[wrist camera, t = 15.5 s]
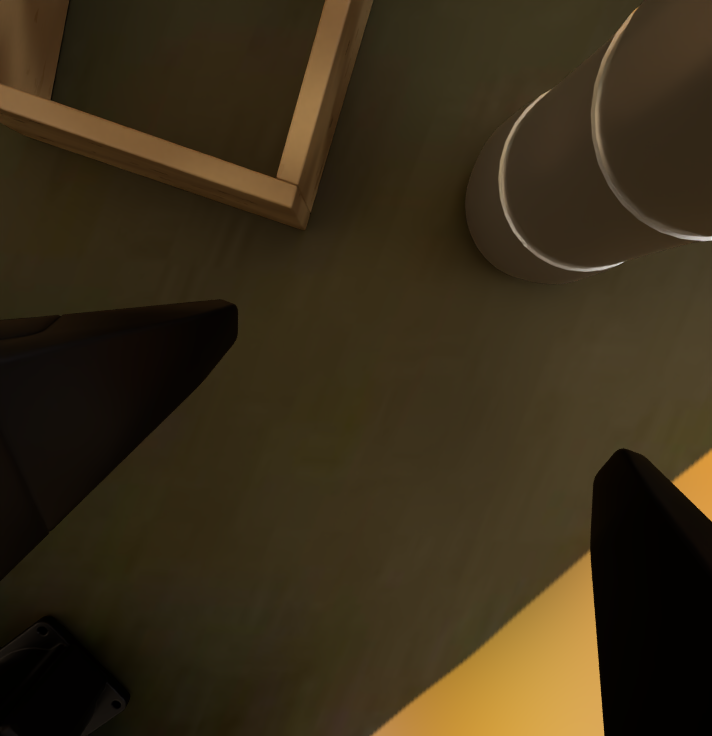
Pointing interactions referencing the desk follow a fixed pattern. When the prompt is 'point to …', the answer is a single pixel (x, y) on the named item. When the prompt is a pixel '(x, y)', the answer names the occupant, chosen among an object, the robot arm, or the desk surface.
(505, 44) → the desk surface
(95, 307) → the desk surface
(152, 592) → the desk surface
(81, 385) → the robot arm
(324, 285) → the desk surface
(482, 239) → the metal cup
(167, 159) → the square wooden frame
